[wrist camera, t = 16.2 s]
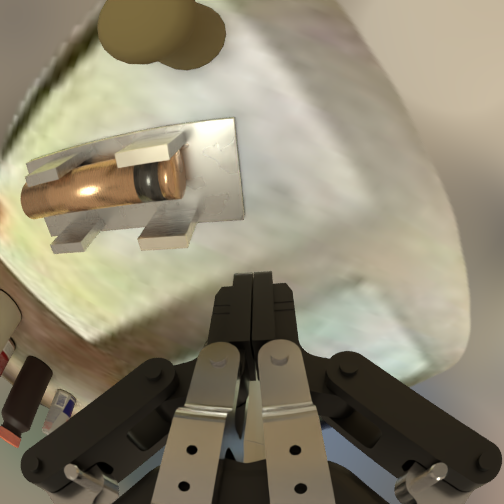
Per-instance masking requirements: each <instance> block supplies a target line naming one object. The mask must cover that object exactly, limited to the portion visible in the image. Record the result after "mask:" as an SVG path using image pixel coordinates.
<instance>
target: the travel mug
mask: <svg viewBox="0 0 504 504" xmlns="http://www.w3.org/2000/svg"><path fill="white" fill-rule="evenodd" d="M20 321H21V314H20V311H19V309H18V307H17V306H16V304H15V303H14V302H13V300H12V299H11V298H10V297H9V296H8V295H7V294H5V293H4V292H3V291H1V290H0V354H1V352H2V350H3V349H4V347H5V345H6V344H7V342H8V340H9V339H10V337H11V335H12V334H13V332H14V330H15V329H16V327H17V326H18V324H19V323H20Z"/></svg>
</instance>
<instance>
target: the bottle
mask: <svg viewBox="0 0 504 504" xmlns="http://www.w3.org/2000/svg"><path fill="white" fill-rule="evenodd" d="M51 377H52V371H51V370H50V368H49V367H48V366H47V365H46V364H45V363H43V362H42V361H41V360H39V359H37V358H35V357H31V356H29V357H27V359H26V361H25V363H24V365H23V367H22V369H21V370H20V372H19V374H18V376H17V378H16V381H15V383H14V385H13V387H12V389H11V391H10V393H9V395H8V398H7V400H6V402H5V404H4V407H3V409H2V417H3V420H4V423H3V425H1V426H0V437H1V438H2V439H4V440H5V441H6V442H8V443H10V444H11V445H13V446H15V447H17V448H18V447H19V444H20V441H21V439H20V438H21V433H23V432H27V431H28V430H30V427H31V425H32V422H33V419H34V417H35V414H36V412H37V409H38V407H39V404H40V402H41V400H42V397H43V395H44V393H45V390H46V388H47V386H48V383H49V381H50V379H51Z"/></svg>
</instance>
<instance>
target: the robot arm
mask: <svg viewBox="0 0 504 504" xmlns="http://www.w3.org/2000/svg"><path fill="white" fill-rule="evenodd" d="M318 415H320V416H321V417H322V419H323V420H324V421H325V422H327V423H328V424H329V425H330V426H331V427H333V428H334V429H335V430H336V431H337V432H339V433H340V434H341V435H342V436H344V437H345V438H346V439H347V440H348V441H350V442H351V443H352V444H353V445H354V446H356V447H357V448H358V449H360V450H361V451H362V452H363V453H365V454H366V455H367V456H368V457H370V458H371V459H373V460H374V461H375V462H376V463H378V464H379V465H380V466H381V467H383V468H384V469H386V470H387V471H388V472H390V473H391V474H392V475H394V476H395V477H396V478H398V479H397V481H396V484H395V495H396V498H397V499H398V500H399V501H400V502H401V503H402V504H465V502H466V501H467V499H468V498H469V496H470V495H471V493H472V492H473V491H474V490H475V489H477V488H479V487H481V486H483V485H484V484H486V483H488V482H490V481H491V480H493V479H494V478H495V477H496V476H497V474H498V472H499V471H500V468H501V464H502V455H501V452H500V450H499V448H498V447H497V446H496V445H495V444H494V443H492V442H491V441H489V440H487V439H486V438H484V437H483V436H481V435H479V434H478V433H477V432H475V431H474V430H472V429H470V428H469V427H467V426H466V425H464V424H463V423H461V422H460V421H458V420H456V419H455V418H454V417H452V416H451V415H449V414H448V413H446V412H444V411H443V410H442V409H440V408H439V407H437V406H436V405H434V404H433V403H431V402H430V401H428V400H427V399H425V398H424V397H422V396H421V395H419V394H418V393H416V392H415V391H413V390H412V389H410V388H409V387H407V386H406V385H405V384H403V383H402V382H400V381H399V380H397V379H396V378H394V377H393V376H391V375H390V374H388V373H387V372H386V371H384V370H383V369H381V368H380V367H378V366H377V365H375V364H374V363H373V362H371V361H370V360H368V359H367V358H365V357H364V356H362V355H361V354H359V353H356V352H352V351H344V352H339V353H337V354H335V355H333V356H332V357H331V358H330V359H328V358H322V357H317V356H314V355H311V354H309V353H307V352H306V351H305V350H304V349H303V348H302V347H301V345H300V343H299V340H298V332H297V324H296V316H295V308H294V300H293V292H292V290H291V289H290V288H289V286H288V285H287V284H286V283H278V284H273V280H272V271H267V272H254V278H253V273H236V274H234V279H233V286H229V287H222V288H221V289H220V290H219V292H218V293H217V294H216V296H215V301H214V307H213V312H212V318H211V324H210V330H209V336H208V341H207V342H206V344H205V346H204V348H203V349H202V350H201V352H200V353H199V355H198V357H197V358H196V359H194V360H192V361H189V362H186V363H182V364H178V365H174V366H173V364H172V363H171V362H170V361H168V360H166V359H163V358H153V359H149V360H147V361H145V362H144V363H142V364H141V365H140V366H138V367H137V368H136V369H135V370H133V371H132V372H131V373H129V374H128V375H127V376H125V377H124V378H123V379H122V380H120V381H119V382H118V383H116V384H115V385H114V386H112V387H111V388H110V389H109V390H107V391H106V392H105V393H103V394H102V395H101V396H99V397H98V398H97V399H95V400H94V401H93V402H91V403H90V404H89V405H87V406H86V407H85V408H83V409H82V410H81V411H79V412H78V413H77V414H75V415H74V416H73V417H71V418H70V419H69V420H67V421H66V422H65V423H63V424H62V425H61V426H59V427H58V428H57V429H55V430H54V431H53V432H51V433H50V434H49V435H47V436H46V437H44V438H43V439H42V440H40V441H39V442H38V443H36V444H35V445H34V446H32V447H31V448H29V449H28V450H27V451H26V452H25V453H24V455H23V457H22V459H21V470H22V473H23V475H24V477H25V478H26V479H27V480H28V481H29V482H32V483H33V484H35V485H37V486H38V487H40V488H42V489H43V490H45V491H46V492H47V493H48V494H49V496H50V498H51V500H52V501H53V503H54V504H389V503H388V502H387V501H385V500H384V499H383V498H382V497H381V496H379V495H378V494H377V493H376V492H375V491H373V490H372V489H371V488H370V487H369V486H367V485H366V484H365V483H364V482H362V481H361V480H360V479H359V478H358V477H357V476H356V475H355V474H353V473H352V472H351V471H350V470H348V469H346V468H345V467H343V466H341V465H339V464H337V463H334V462H331V461H327V456H326V451H325V446H324V441H323V437H322V431H321V426H320V421H319V417H318ZM165 445H166V447H165V451H164V454H163V459H162V462H161V465H160V466H158V467H156V468H154V469H153V470H151V471H150V472H149V473H147V474H146V475H145V476H144V477H143V478H142V479H141V480H140V481H138V482H137V483H136V484H135V485H134V486H132V487H131V488H130V489H129V490H128V491H127V492H126V493H124V494H123V495H122V496H120V497H119V486H118V483H119V482H120V481H121V480H123V479H124V478H125V477H127V476H128V475H129V474H130V473H132V472H133V471H134V470H135V469H137V468H138V467H139V466H140V465H142V464H143V463H144V462H145V461H147V460H148V459H149V458H150V457H151V456H153V455H154V454H155V453H156V452H157V451H158V450H160V449H161V448H162V447H163V446H165ZM118 497H119V498H118ZM116 499H117V500H116ZM115 500H116V501H115Z"/></svg>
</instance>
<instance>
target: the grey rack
mask: <svg viewBox="0 0 504 504" xmlns="http://www.w3.org/2000/svg"><path fill="white" fill-rule="evenodd" d="M178 150H180V152H181V154H182V156H183V159H184V164H185V170H186V189H185V194H184V196H183V198H182V199H176V200H167V201H157V202H148V203H140V204H131V205H123V206H116V207H108V208H101V209H94V210H87V211H80V212H74V213H67V214H61V215H55V216H49V217H44V219H45V222H46V224H47V227H48V229H49V232H50V234H51V237H52V236H58V237H57V238H56V239H55V240H54V241H53V242H52V243H51V244H50V246H51V248H52V251H53V253H54V254H59V253H73V252H85V250H86V249H87V248H88V246H89V245H90V244H91V243H92V241H93V240H94V239H95V238H96V236H97V235H98V234H99V233H100V231H108V230H118V229H129V228H140V227H145V228H144V230H143V232H142V233H141V235H140V236H139V237H138V242H139V246H140V249H141V251H142V250H159V249H176V248H188V246H189V243H190V240H191V237H192V235H193V232H194V230H195V227H196V224H197V223H202V222H217V221H232V220H244V215H245V214H244V204H243V195H242V185H241V176H240V166H239V157H238V147H237V138H236V128H235V118H234V117H229V118H219V119H210V120H202V121H194V122H187V123H181V124H174V125H168V126H162V127H157V128H151V129H146V130H141V131H136V132H131V133H126V134H122V135H117V136H113V137H109V138H104V139H100V140H96V141H93V142H89V143H85V144H81V145H78V146H74V147H71V148H67V149H64V150H61V151H57V152H54V153H51V154H48V155H45V156H42V157H39V158H36V159H33V160H31V161H29V162H27V163H26V165H27V168H28V172H29V175H27V176H26V177H25V179H26V182H27V185H28V187H31V186H35V185H38V184H42V183H46V182H50V181H54V180H58V179H60V178H61V177H63V176H64V175H65V174H67V173H68V172H70V171H71V170H73V169H74V168H76V167H80V166H84V165H88V164H93V163H97V162H102V161H106V160H111V159H116V163H117V167H118V168H122V167H127V166H133V165H139V164H145V163H152V162H158V161H165V160H170V159H171V157H172V156H173V155H174V154H175V153H176V152H177V151H178Z"/></svg>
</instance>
